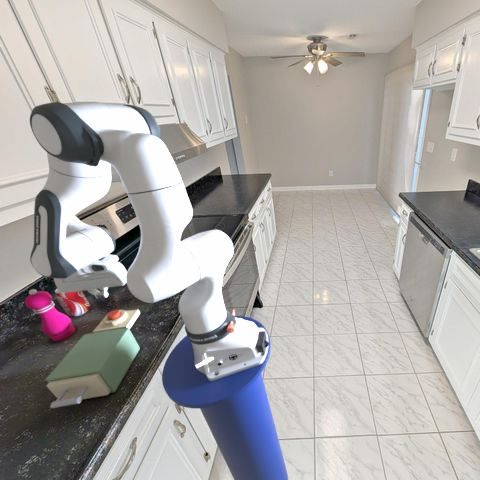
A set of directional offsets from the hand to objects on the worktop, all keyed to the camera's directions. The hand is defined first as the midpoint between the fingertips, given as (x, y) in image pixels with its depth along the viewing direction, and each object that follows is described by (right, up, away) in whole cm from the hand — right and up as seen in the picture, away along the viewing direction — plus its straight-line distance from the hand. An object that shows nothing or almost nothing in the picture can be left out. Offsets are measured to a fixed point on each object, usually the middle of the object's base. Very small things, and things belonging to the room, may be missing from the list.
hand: (103, 297), depth 88 cm
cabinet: (+11, -20, -12) cm, 26 cm away
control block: (+1, -11, +6) cm, 13 cm away
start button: (+1, -8, +4) cm, 9 cm away
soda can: (-20, -9, +13) cm, 26 cm away
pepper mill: (-17, -14, +3) cm, 22 cm away
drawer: (+12, -21, -16) cm, 29 cm away
